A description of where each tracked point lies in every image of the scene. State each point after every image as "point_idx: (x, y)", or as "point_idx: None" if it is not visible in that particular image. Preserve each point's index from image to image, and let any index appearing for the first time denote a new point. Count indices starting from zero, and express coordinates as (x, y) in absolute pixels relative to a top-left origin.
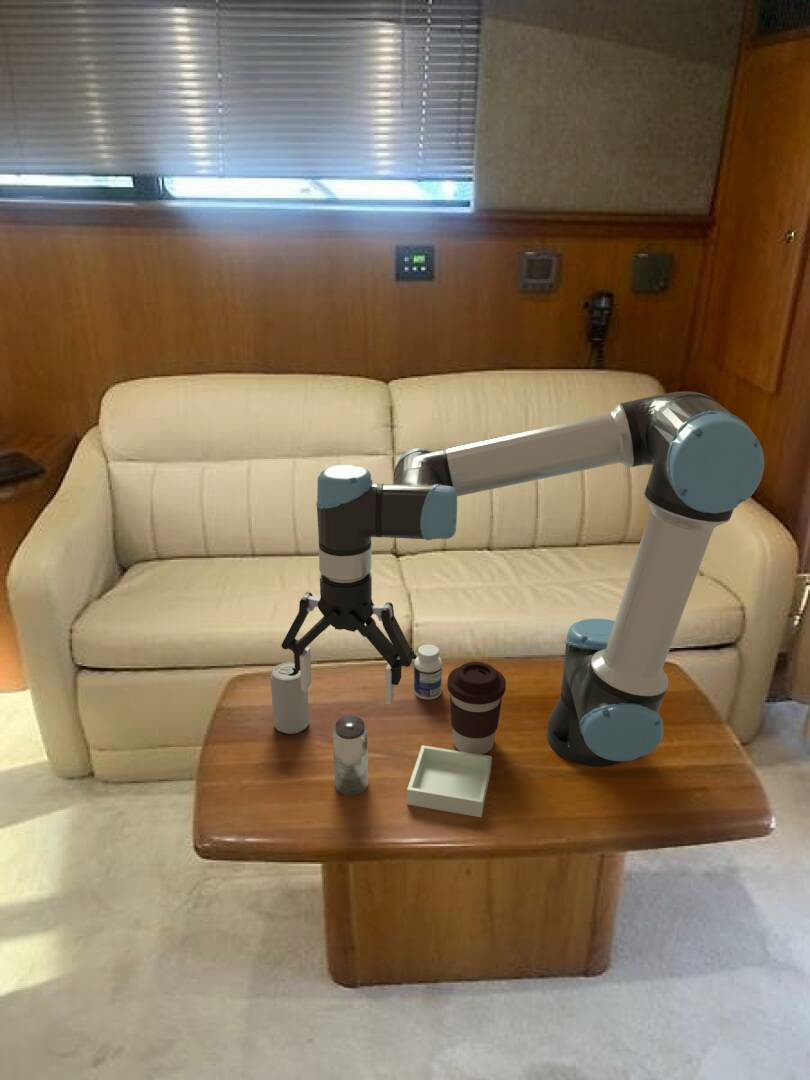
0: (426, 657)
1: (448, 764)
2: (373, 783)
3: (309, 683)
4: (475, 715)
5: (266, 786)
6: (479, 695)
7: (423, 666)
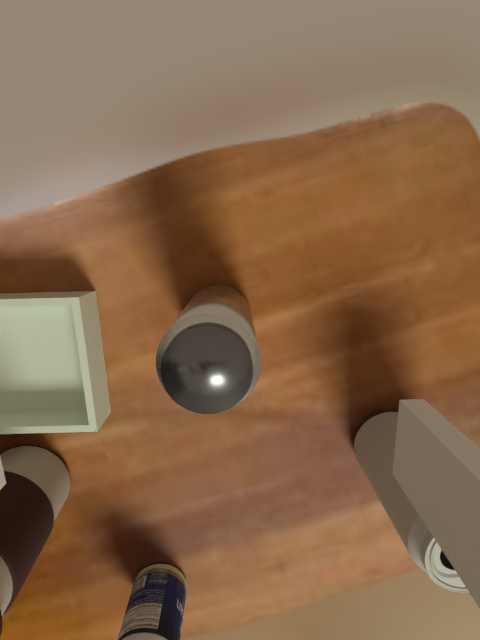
0: None
1: (52, 409)
2: None
3: (401, 456)
4: None
5: (380, 265)
6: None
7: None
